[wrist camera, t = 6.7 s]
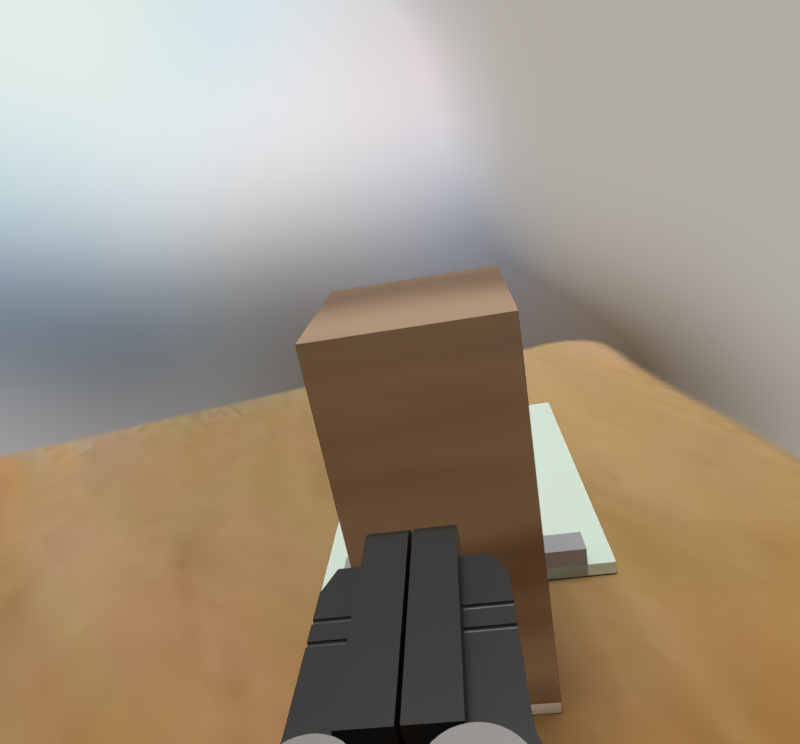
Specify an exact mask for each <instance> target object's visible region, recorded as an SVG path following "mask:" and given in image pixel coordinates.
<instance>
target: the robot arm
mask: <svg viewBox="0 0 800 744" xmlns="http://www.w3.org/2000/svg"><path fill="white" fill-rule="evenodd" d="M307 643H308V647H307V648H306V649H305V653H304V657H303V660H302V664H301V668H300V672H299V676H298V680H297V683H296V687H295V691H294V695H293V699H292V703H291V707H290V710H289V714H288V718H287V722H286V726H285V730H284V734H283V737H282V740H281V743H280V744H542V742H541V740H540V738H539V736H538V734H537V731H536V729H535V725H534V721H533V715H532V709H531V703H530V697H529V691H528V685H527V679H526V673H525V667H524V661H523V654H522V648H521V642H520V636H519V630H518V624H517V618H516V612H515V606H514V600H513V594H512V587H511V581H510V575H509V573H508V572H507V570H506V569H505V568H504V567H503V565H502V564H501V563H500V562H499V560H498V559H497V558H496V557H495V555H494V554H493V553H485V554H476V555H466V556H462V550H461V544H460V538H459V532H458V527H457V524H455V525H446V526H437V527H428V528H419V529H413V532H412V531H411V530H403V531H394V532H385V533H376V534H368V535H367V536H366V539H365V544H364V549H363V555H362V560H361V566H360V567H353V568H344V569H338V570H337V571H336V573H335V574H334V575H333V577H332V578H331V579H330V580H329V582H328V583H327V584H326V586H325V587H324V588H323V590H322V591H321V592H320V595H319V599H318V603H317V606H316V610H315V614H314V618H313V625H312V626H311V630H310V633H309V637H308V641H307Z"/></svg>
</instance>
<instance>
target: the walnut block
mask: <svg viewBox="0 0 800 744" xmlns="http://www.w3.org/2000/svg"><path fill="white" fill-rule="evenodd" d="M295 347H296V350H297V355H298V359H299V362H300V367H301V371H302V375H303V379H304V382H305V386H306V390H307V394H308V398H309V402H310V406H311V410H312V414H313V418H314V422H315V426H316V430H317V434H318V438H319V442H320V446H321V450H322V454H323V458H324V462H325V466H326V470H327V474H328V478H329V482H330V486H331V490H332V494H333V498H334V502H335V506H336V510H337V514H338V518H339V522H340V526H341V530H342V534H343V538H344V542H345V546H346V550H347V554H348V558H349V562H350V566H351V568H353V567H360V566H361V560H362V555H363V549H364V544H365V539H366V536H367V535H368V534H376V533H385V532H394V531H403V530H411V531H412V532H413V529H419V528H428V527H437V526H446V525H455V524H457V527H458V532H459V538H460V544H461V550H462V556H466V555H476V554H485V553H493V554H494V555H495V557H496V558H497V559H498V560H499V562H500V563H501V564H502V565H503V567H504V568H505V569H506V570H507V572H508V573H509V575H510V581H511V587H512V594H513V600H514V606H515V612H516V618H517V624H518V630H519V636H520V642H521V648H522V654H523V661H524V667H525V673H526V679H527V685H528V691H529V697H530V703H531V709H532V715H536V714H550V713H562V704H561V695H560V686H559V677H558V668H557V659H556V650H555V640H554V631H553V622H552V613H551V604H550V595H549V586H548V577H547V567H546V558H545V549H544V540H543V531H542V522H541V513H540V503H539V494H538V485H537V476H536V467H535V458H534V449H533V440H532V430H531V421H530V412H529V403H528V394H527V385H526V376H525V366H524V357H523V348H522V339H521V330H520V321H519V312H518V309H517V307H516V305H515V302H514V300H513V298H512V296H511V294H510V292H509V290H508V288H507V286H506V284H505V282H504V280H503V278H502V276H501V273H500V271H499V269H498V267H497V265H494V266H488V267H483V268H476V269H470V270H464V271H457V272H451V273H445V274H439V275H433V276H427V277H421V278H414V279H409V280H402V281H396V282H390V283H383V284H377V285H371V286H365V287H359V288H353V289H347V290H341V291H334V292H331V293H330V295H329V296H328V298H327V299H326V300H325V302H324V304H323V305H322V306H321V308H320V309H319V311H318V312H317V314H316V315H315V317H314V318H313V319H312V321H311V322H310V324H309V325H308V327H307V328H306V329H305V331H304V332H303V334H302V335H301V337H300V338H299V340H298V341H297V342H296V344H295Z"/></svg>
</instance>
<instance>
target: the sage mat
mask: <svg viewBox="0 0 800 744" xmlns="http://www.w3.org/2000/svg"><path fill="white" fill-rule="evenodd" d="M529 412H530V421H531V430H532V440H533V449H534V458H535V467H536V476H537V485H538V494H539V503H540V513H541V522H542V531H543V540H544V549H545V558H546V567H547V577H548V580H550V579H560V578H570V577H580V576H590V575H600V574H610V573H617V571H616V561H615V558H614V556H613V553H612V551H611V549H610V546H609V544H608V542H607V539H606V537H605V535H604V532H603V530H602V528H601V525H600V523H599V521H598V518H597V516H596V514H595V511H594V509H593V507H592V504H591V502H590V499H589V497H588V495H587V492H586V490H585V488H584V485H583V483H582V481H581V478H580V476H579V474H578V471H577V469H576V467H575V464H574V462H573V460H572V457H571V455H570V453H569V450H568V448H567V445H566V443H565V441H564V438H563V436H562V434H561V431H560V429H559V427H558V424H557V422H556V420H555V417H554V415H553V413H552V410H551V408H550V406H549V403H542V404H534V405H529ZM344 568H351V566H350V562H349V558H348V554H347V550H346V546H345V542H344V538H343V534H342V530H341V526H340V522H339V524H338V528H337V532H336V536H335V540H334V544H333V547H332V551H331V555H330V559H329V563H328V567H327V571H326V575H325V579H324V583H323V587H322V590H323V588H324V587H325V586H326V584H327V583H328V582H329V580H330V579H331V578H332V577H333V575H334V574H335V573H336V571H337V570H338V569H344Z"/></svg>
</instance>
